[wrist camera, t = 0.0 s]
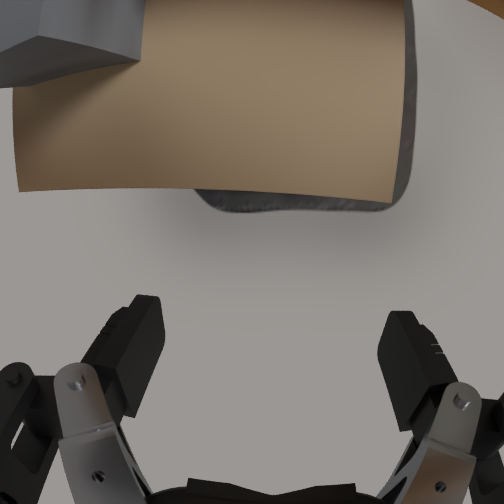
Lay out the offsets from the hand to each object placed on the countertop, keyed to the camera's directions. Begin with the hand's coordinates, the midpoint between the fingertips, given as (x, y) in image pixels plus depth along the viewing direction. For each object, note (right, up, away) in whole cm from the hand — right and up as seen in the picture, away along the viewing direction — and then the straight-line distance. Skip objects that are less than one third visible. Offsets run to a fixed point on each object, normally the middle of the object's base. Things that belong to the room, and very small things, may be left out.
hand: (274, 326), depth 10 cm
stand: (0, +23, +21) cm, 32 cm away
